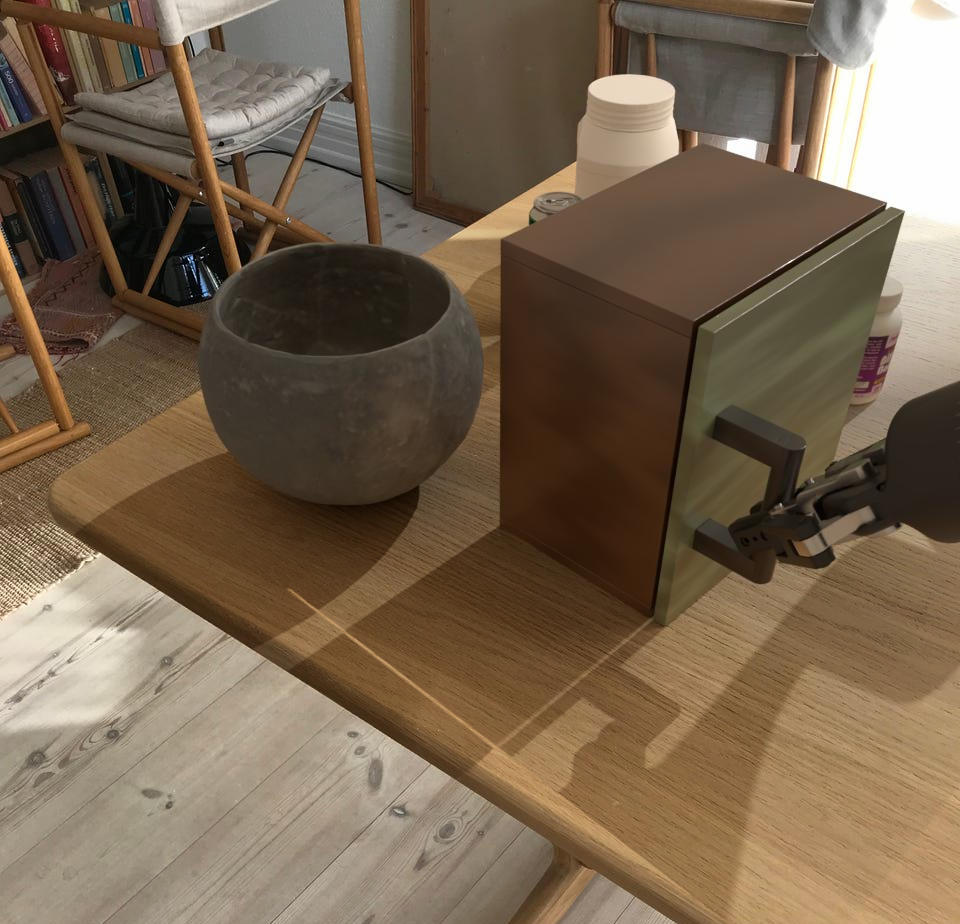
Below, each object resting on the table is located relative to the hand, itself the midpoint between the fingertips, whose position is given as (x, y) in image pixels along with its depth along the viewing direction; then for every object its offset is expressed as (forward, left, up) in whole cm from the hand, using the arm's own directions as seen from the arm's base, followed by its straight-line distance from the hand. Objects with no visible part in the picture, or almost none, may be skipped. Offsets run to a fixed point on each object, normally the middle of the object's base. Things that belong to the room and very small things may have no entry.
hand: (748, 530), depth 63 cm
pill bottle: (-32, -10, -9) cm, 34 cm away
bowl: (+5, -32, -9) cm, 33 cm away
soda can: (-22, -35, -9) cm, 42 cm away
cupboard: (-8, -12, -9) cm, 16 cm away
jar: (-40, -42, -9) cm, 58 cm away
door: (-8, -1, -9) cm, 12 cm away
